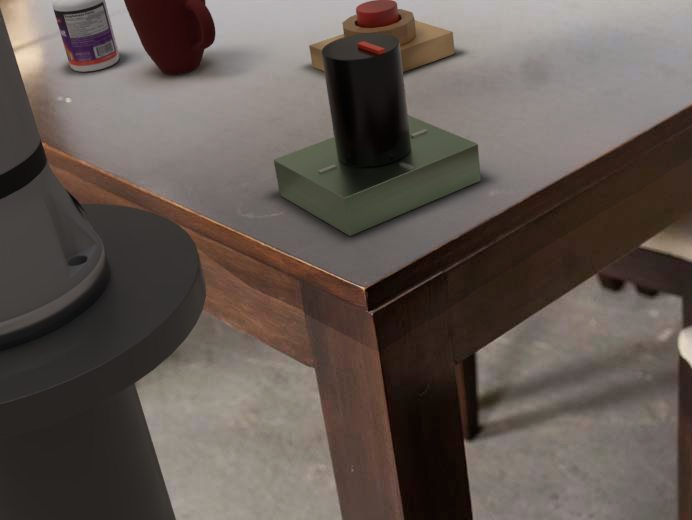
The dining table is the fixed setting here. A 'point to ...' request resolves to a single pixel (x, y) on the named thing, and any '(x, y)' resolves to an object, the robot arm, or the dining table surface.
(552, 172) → the dining table surface
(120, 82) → the dining table surface
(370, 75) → the dial
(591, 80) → the dining table surface
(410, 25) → the button block
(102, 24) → the pill bottle
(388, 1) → the button
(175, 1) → the mug
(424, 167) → the panel
